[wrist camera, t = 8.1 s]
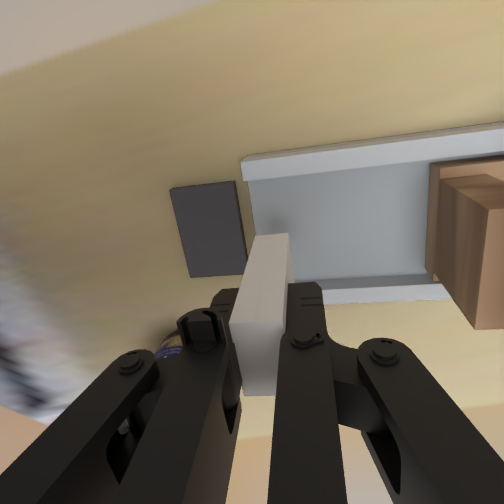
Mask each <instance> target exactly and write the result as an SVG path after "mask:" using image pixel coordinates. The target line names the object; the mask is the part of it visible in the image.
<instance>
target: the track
mask: <svg viewBox="0 0 504 504" xmlns="http://www.w3.org/2000/svg"><path fill="white" fill-rule="evenodd" d="M502 154H504V122H496V123H489V124H481V125H473V126H466V127H458V128H451V129H443V130H436V131H428V132H420V133H413V134H405V135H398V136H390V137H382V138H375V139H367V140H360V141H352V142H344V143H337V144H329V145H322V146H314V147H307V148H299V149H291V150H284V151H276V152H269V153H261V154H253V155H247V156H246V157H245V158H244V159H243V160H242V161H241V162H240V164H241V170H242V176H243V181H248V187H249V194H250V200H251V207H252V213H253V220H254V227H255V233H256V236H260V235H270V234H280V233H289V241H290V249H291V258H292V266H293V275H294V283H301V282H314V281H315V282H316V283H317V284H318V285H319V286H320V287H321V288H322V294H323V303H324V305H328V304H350V303H373V302H395V301H417V300H439V299H452V297H451V296H450V295H449V293H448V292H447V290H446V289H445V288H444V286H443V285H442V283H441V282H440V281H433V280H432V278H431V277H430V275H429V274H428V272H427V271H426V269H425V257H426V237H427V217H428V197H429V177H430V163H433V162H442V161H450V160H459V159H468V158H476V157H485V156H494V155H502Z"/></svg>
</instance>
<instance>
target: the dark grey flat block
mask: <svg viewBox="0 0 504 504" xmlns="http://www.w3.org/2000/svg"><path fill="white" fill-rule="evenodd" d="M169 191H170V196H171V200H172V204H173V208H174V212H175V216H176V220H177V225H178V229H179V233H180V237H181V241H182V245H183V249H184V254H185V258H186V262H187V266H188V270H189V274H190V278H195V277H211V276H226V275H242V274H244V271H245V268H246V265H247V261H248V255H247V249H246V243H245V237H244V231H243V225H242V219H241V213H240V207H239V201H238V195H237V189H236V183H235V181H227V182H218V183H210V184H201V185H193V186H185V187H176V188H172V189H170V190H169Z"/></svg>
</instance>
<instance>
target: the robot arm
mask: <svg viewBox="0 0 504 504" xmlns="http://www.w3.org/2000/svg"><path fill="white" fill-rule="evenodd" d="M176 323H177V327H178V330H179V334H180V337H181V341H182V344H183V347H182V349H181V351H180V353H179V354H176V355H173V356H169V357H166V358H162V359H158V360H156V359H155V356H154V354H153V353H152V352H151V351H148V350H146V349H140V350H134V351H130V352H127V353H125V354H123V355H121V356H120V357H118V358H117V359H116V360H115V361H113V362H112V363H111V364H110V365H109V366H108V367H107V368H106V369H105V370H104V371H103V372H102V373H101V374H100V375H99V376H98V377H97V378H96V379H95V380H94V381H93V382H92V383H91V384H90V385H89V386H88V387H87V388H86V389H85V390H84V391H83V392H82V393H81V394H80V395H79V396H78V397H77V398H76V399H75V400H74V401H73V403H72V404H71V405H70V406H69V407H68V408H67V409H66V410H65V411H64V412H63V413H62V414H61V415H60V416H59V417H58V418H57V419H56V420H55V421H54V422H53V423H52V424H51V425H50V426H49V427H48V428H47V429H46V430H45V431H44V432H43V433H42V434H41V435H40V436H39V437H38V438H37V439H36V440H35V441H34V442H33V443H32V444H31V445H30V446H29V447H28V448H27V449H26V450H25V451H24V452H23V453H22V454H21V455H20V456H19V457H18V458H17V459H16V460H15V461H14V462H13V463H12V464H11V465H10V466H9V467H8V468H7V469H6V470H5V471H4V472H3V473H2V474H1V475H0V504H225V502H226V497H227V491H228V485H229V480H230V474H231V468H232V462H233V457H234V451H235V445H236V440H237V434H238V429H239V423H240V417H241V412H242V409H241V401H240V396H239V395H240V390H241V385H242V388H243V393H244V396H276V399H275V412H274V424H273V437H272V450H271V462H270V476H269V488H268V500H267V504H348V503H347V494H346V486H345V477H344V469H343V460H342V451H341V444H340V435H339V426H338V424H341V425H344V426H348V427H351V428H355V429H358V430H361V435H362V437H363V439H364V441H365V443H366V446H367V448H368V450H369V452H370V454H371V456H372V458H373V461H374V463H375V465H376V467H377V469H378V471H379V473H380V476H381V478H382V480H383V482H384V484H385V486H386V488H387V491H388V493H389V495H390V497H391V499H392V501H393V503H394V504H504V461H503V460H502V459H501V458H500V457H499V455H498V454H497V453H496V452H495V450H494V449H493V448H492V447H491V446H490V444H489V443H488V442H487V441H486V440H485V438H484V437H483V436H482V435H481V434H480V432H479V431H478V430H477V429H476V428H475V427H474V425H473V424H472V423H471V422H470V420H469V419H468V418H467V417H466V416H465V414H464V413H463V412H462V411H461V410H460V408H459V407H458V406H457V405H456V404H455V402H454V401H453V400H452V399H451V398H450V396H449V395H448V394H447V393H446V392H445V390H444V389H443V388H442V387H441V385H440V384H439V383H438V382H437V381H436V379H435V378H434V377H433V376H432V375H431V373H430V372H429V371H428V370H427V369H426V367H425V366H424V365H423V364H422V363H421V361H420V360H419V359H418V358H417V357H416V355H415V354H414V353H413V352H412V351H411V349H409V348H408V347H407V346H406V345H405V344H403V343H401V342H399V341H396V340H394V339H388V338H373V339H370V340H367V341H365V342H363V343H362V344H361V345H360V346H359V348H358V349H354V348H349V347H346V346H342V345H340V344H338V343H336V342H335V341H333V340H332V339H331V338H330V337H329V335H328V333H327V328H326V320H325V311H324V303H323V294H322V288H321V287H320V286H319V285H318V284H317V283H316V282H315V281H314V282H301V283H294V275H293V266H292V258H291V249H290V241H289V233H280V234H270V235H260V236H255V238H254V242H253V245H252V248H251V252H250V255H249V258H248V261H247V265H246V268H245V271H244V275H243V278H242V281H241V285H240V288H231V289H222V290H221V291H220V292H218V293H217V294H216V295H215V296H214V298H213V300H212V303H211V306H210V307H209V308H201V309H196V310H193V311H190V312H188V313H186V314H185V315H183V316H182V317H180V319H179V320H178V321H177V322H176ZM124 421H126V423H127V425H126V427H125V428H124V429H123V430H122V431H121V432H119V431H118V428H119V427H120V426H121V424H122V423H123V422H124Z"/></svg>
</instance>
